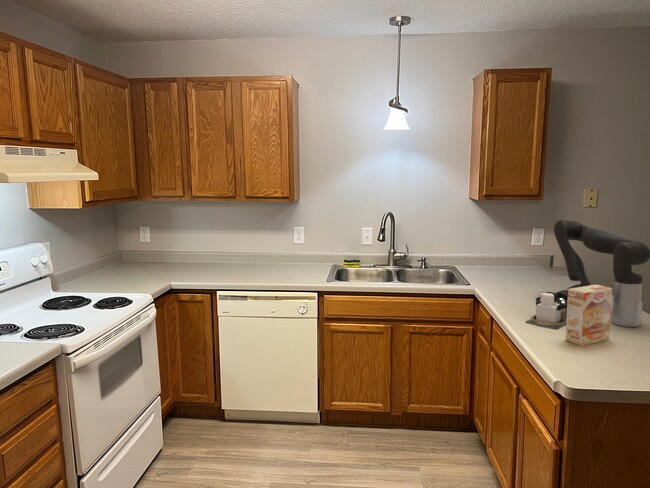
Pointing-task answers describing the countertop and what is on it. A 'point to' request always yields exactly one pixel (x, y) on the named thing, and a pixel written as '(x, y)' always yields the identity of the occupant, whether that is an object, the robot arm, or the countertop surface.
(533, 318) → the ring seat
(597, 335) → the coffeecake box
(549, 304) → the medicine bottle
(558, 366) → the countertop surface
